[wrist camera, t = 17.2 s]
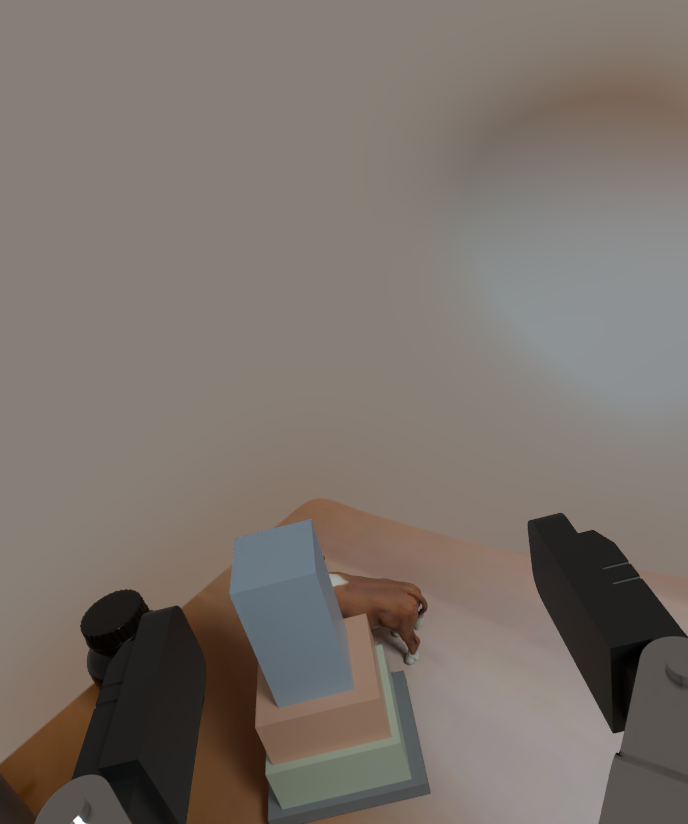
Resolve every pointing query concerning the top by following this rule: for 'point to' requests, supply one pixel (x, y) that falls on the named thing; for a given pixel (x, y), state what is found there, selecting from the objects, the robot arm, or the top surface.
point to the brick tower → (342, 741)
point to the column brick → (291, 613)
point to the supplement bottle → (111, 629)
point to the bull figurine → (383, 605)
